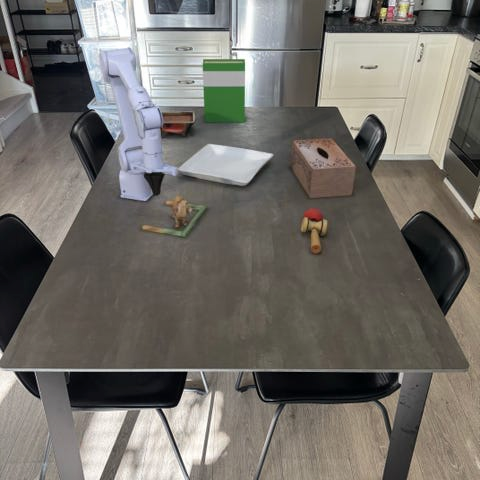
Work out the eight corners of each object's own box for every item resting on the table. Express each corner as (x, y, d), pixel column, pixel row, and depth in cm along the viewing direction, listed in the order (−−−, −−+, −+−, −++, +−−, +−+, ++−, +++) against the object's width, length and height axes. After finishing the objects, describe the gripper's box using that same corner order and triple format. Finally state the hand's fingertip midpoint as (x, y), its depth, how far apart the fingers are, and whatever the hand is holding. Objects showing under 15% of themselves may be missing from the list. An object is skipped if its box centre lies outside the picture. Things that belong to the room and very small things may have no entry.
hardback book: (204, 122, 235) (202, 63, 220) (205, 116, 241) (203, 59, 226) (244, 122, 236) (245, 63, 221) (244, 116, 241) (244, 59, 226)
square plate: (176, 179, 189) (175, 168, 186) (208, 152, 208) (208, 142, 206) (247, 191, 181) (247, 181, 178) (274, 162, 200) (274, 152, 198)
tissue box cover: (290, 167, 197) (292, 140, 191) (328, 164, 199) (331, 138, 193) (310, 198, 177) (312, 169, 171) (351, 195, 179) (355, 166, 173)
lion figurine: (195, 230, 160) (193, 202, 155) (178, 233, 159) (175, 205, 153) (182, 208, 171) (180, 182, 165) (166, 211, 170) (164, 184, 164)
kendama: (331, 257, 151) (326, 219, 163) (330, 239, 146) (324, 201, 159) (304, 260, 152) (300, 222, 164) (302, 243, 148) (298, 205, 160)
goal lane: (142, 229, 160) (142, 226, 160) (167, 203, 174) (167, 200, 173) (184, 236, 157) (184, 233, 156) (206, 209, 171) (206, 206, 170)
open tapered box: (192, 144, 220) (195, 119, 214) (149, 137, 218) (150, 112, 213) (195, 134, 232) (197, 111, 226) (153, 128, 230) (155, 104, 225)
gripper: (123, 152, 153) (129, 196, 162) (169, 159, 150) (173, 203, 158) (134, 144, 158) (139, 186, 167) (179, 150, 155) (182, 193, 163)
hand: (156, 194), depth 163 cm, fingers closed
